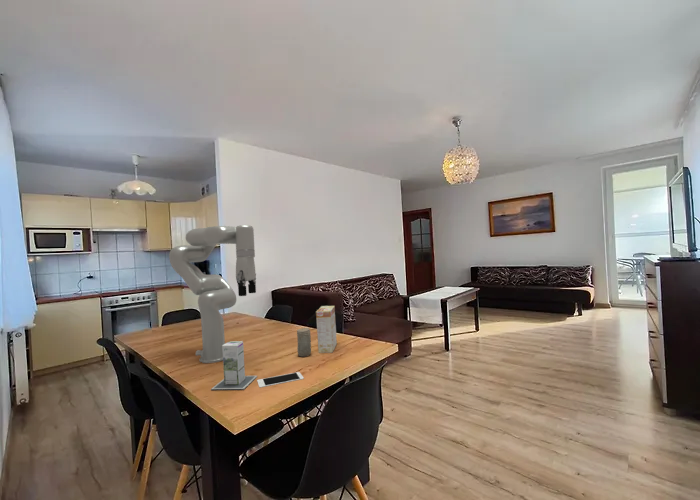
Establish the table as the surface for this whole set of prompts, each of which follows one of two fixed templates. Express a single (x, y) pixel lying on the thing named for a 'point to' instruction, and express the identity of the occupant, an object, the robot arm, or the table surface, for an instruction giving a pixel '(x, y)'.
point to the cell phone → (279, 379)
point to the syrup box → (233, 362)
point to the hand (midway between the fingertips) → (247, 294)
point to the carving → (304, 342)
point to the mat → (241, 386)
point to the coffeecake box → (326, 329)
